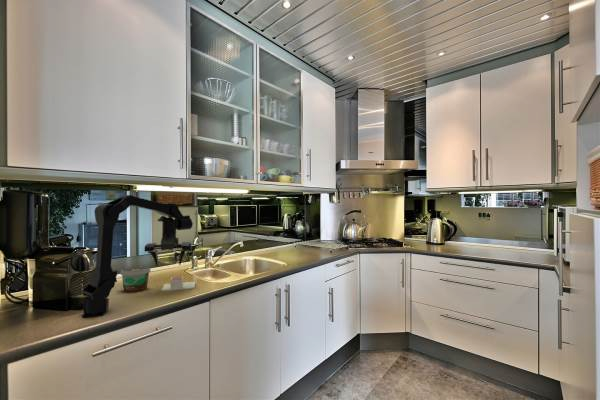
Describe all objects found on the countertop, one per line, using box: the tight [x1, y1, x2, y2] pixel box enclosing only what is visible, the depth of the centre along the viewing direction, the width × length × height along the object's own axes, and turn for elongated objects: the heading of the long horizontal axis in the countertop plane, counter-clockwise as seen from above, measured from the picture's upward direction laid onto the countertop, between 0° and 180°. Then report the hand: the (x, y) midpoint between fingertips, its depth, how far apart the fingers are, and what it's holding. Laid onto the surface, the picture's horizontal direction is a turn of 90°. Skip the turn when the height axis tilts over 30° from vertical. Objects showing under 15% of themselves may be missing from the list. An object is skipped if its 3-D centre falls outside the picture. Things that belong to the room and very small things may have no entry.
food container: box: [120, 267, 152, 294], centre depth 125 cm, size 12×6×10 cm, turn 105°
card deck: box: [170, 275, 184, 289], centre depth 131 cm, size 5×7×4 cm
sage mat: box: [161, 281, 196, 292], centre depth 132 cm, size 14×10×1 cm
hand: (168, 265), depth 124 cm, fingers open, 9 cm apart
